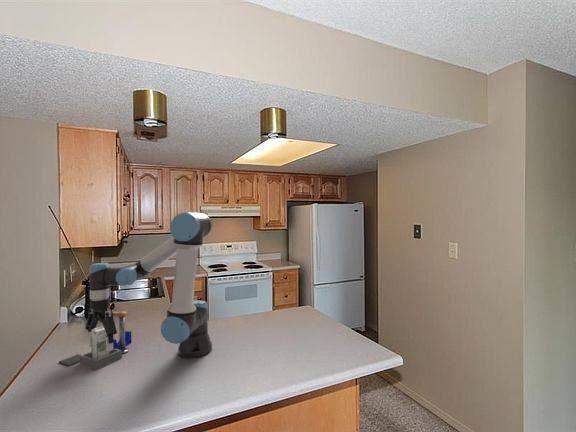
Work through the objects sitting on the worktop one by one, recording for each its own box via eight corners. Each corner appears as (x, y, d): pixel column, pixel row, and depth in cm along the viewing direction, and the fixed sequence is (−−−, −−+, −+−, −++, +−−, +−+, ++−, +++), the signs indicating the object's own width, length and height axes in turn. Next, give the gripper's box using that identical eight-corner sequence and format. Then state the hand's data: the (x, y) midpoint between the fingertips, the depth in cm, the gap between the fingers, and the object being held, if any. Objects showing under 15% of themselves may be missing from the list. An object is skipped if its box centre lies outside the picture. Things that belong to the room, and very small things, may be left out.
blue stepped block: (123, 342, 158) (123, 330, 158) (131, 343, 157) (131, 331, 157) (105, 353, 146) (105, 340, 146) (114, 353, 145) (113, 340, 145)
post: (130, 350, 147) (130, 315, 147) (121, 355, 143) (120, 318, 143) (124, 349, 149) (123, 314, 149) (114, 353, 145) (113, 317, 145)
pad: (88, 358, 140) (88, 357, 140) (69, 366, 133) (69, 365, 133) (78, 355, 144) (78, 354, 144) (58, 362, 136) (58, 361, 136)
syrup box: (105, 357, 141) (105, 324, 141) (111, 360, 137) (110, 327, 137) (91, 361, 137) (90, 328, 137) (96, 365, 133) (96, 331, 133)
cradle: (122, 358, 140) (121, 350, 140) (96, 369, 129) (96, 361, 129) (106, 353, 145) (105, 345, 145) (80, 364, 135) (80, 356, 135)
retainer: (128, 317, 148) (128, 311, 148) (122, 320, 144) (122, 314, 144) (98, 316, 151) (98, 310, 151) (91, 318, 147) (91, 312, 147)
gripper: (125, 299, 135) (126, 349, 135) (92, 294, 146) (93, 340, 146) (108, 303, 128) (109, 356, 128) (75, 298, 139) (76, 346, 139)
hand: (101, 348), depth 137 cm, fingers open, 11 cm apart
